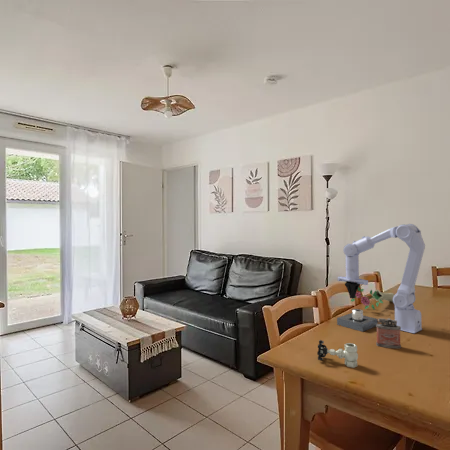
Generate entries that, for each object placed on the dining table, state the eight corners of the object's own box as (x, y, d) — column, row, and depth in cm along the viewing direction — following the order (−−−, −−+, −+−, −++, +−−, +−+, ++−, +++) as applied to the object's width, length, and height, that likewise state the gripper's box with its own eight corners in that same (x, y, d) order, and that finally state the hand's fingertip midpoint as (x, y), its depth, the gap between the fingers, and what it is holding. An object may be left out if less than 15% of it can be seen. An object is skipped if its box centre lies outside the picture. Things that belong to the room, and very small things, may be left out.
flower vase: (396, 316, 178) (368, 315, 156) (375, 306, 188) (345, 303, 165) (404, 297, 177) (377, 293, 154) (383, 287, 187) (354, 282, 164)
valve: (359, 362, 106) (321, 356, 112) (358, 342, 106) (321, 336, 112) (356, 371, 100) (317, 363, 106) (356, 349, 100) (317, 343, 106)
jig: (377, 325, 142) (377, 318, 142) (362, 331, 134) (362, 324, 134) (352, 319, 151) (352, 312, 151) (337, 324, 144) (337, 317, 144)
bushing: (364, 326, 141) (364, 310, 141) (360, 328, 138) (360, 312, 138) (354, 324, 144) (354, 308, 144) (350, 326, 141) (350, 310, 141)
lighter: (400, 345, 119) (399, 318, 119) (401, 349, 116) (401, 321, 116) (375, 343, 122) (375, 316, 122) (376, 346, 119) (376, 319, 119)
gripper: (333, 268, 156) (334, 296, 156) (362, 271, 145) (362, 302, 145) (342, 266, 161) (342, 294, 161) (370, 270, 149) (370, 299, 149)
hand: (352, 298), depth 153 cm, fingers closed
